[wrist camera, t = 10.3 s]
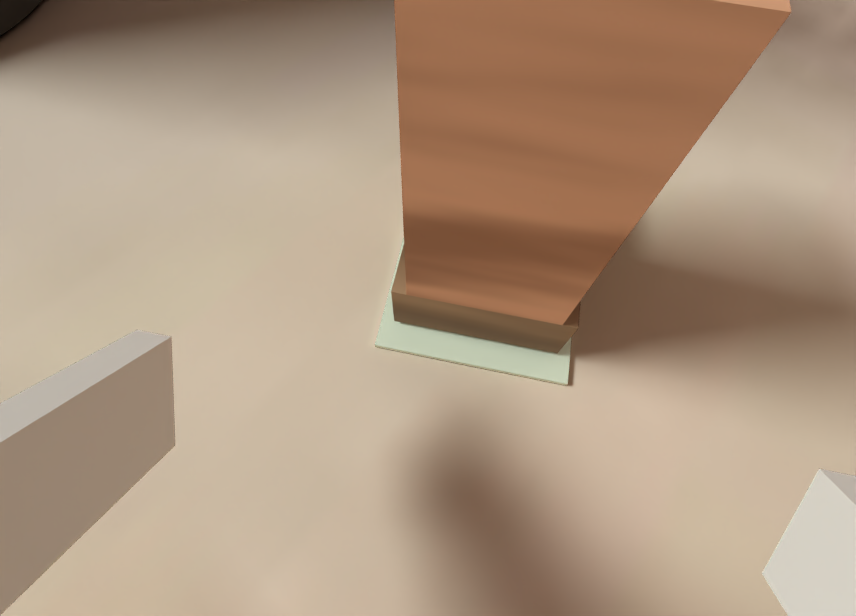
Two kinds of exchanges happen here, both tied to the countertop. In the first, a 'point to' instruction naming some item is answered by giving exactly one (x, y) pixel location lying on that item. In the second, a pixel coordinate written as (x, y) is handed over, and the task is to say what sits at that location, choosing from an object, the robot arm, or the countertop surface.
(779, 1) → the wooden pillar on base
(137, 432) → the robot arm
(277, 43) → the countertop surface
